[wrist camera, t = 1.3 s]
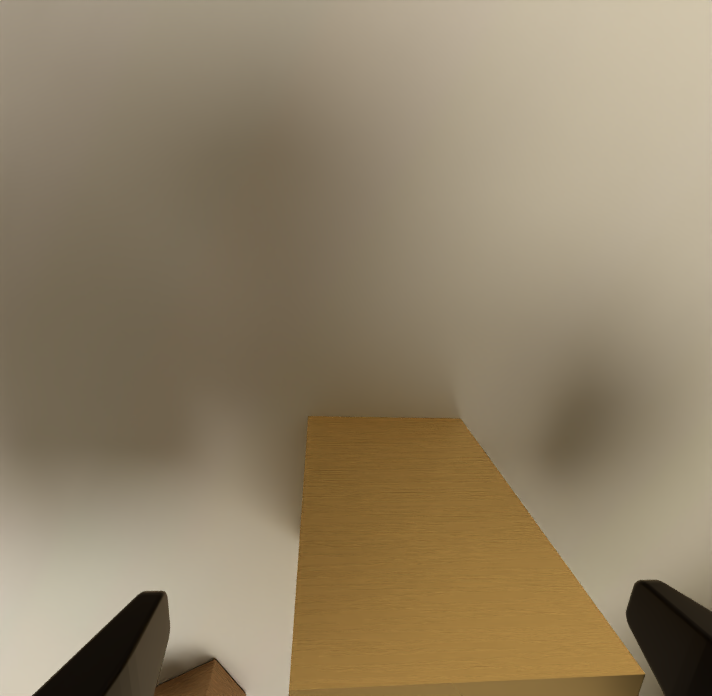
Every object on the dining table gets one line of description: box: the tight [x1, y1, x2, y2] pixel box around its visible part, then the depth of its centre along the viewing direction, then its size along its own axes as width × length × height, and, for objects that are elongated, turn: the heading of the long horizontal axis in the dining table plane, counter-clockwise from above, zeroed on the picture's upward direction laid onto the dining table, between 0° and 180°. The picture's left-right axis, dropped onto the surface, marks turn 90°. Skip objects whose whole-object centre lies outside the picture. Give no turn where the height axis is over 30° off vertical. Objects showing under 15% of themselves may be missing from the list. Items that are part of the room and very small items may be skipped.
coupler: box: [289, 416, 645, 696], centre depth 8 cm, size 4×4×6 cm
